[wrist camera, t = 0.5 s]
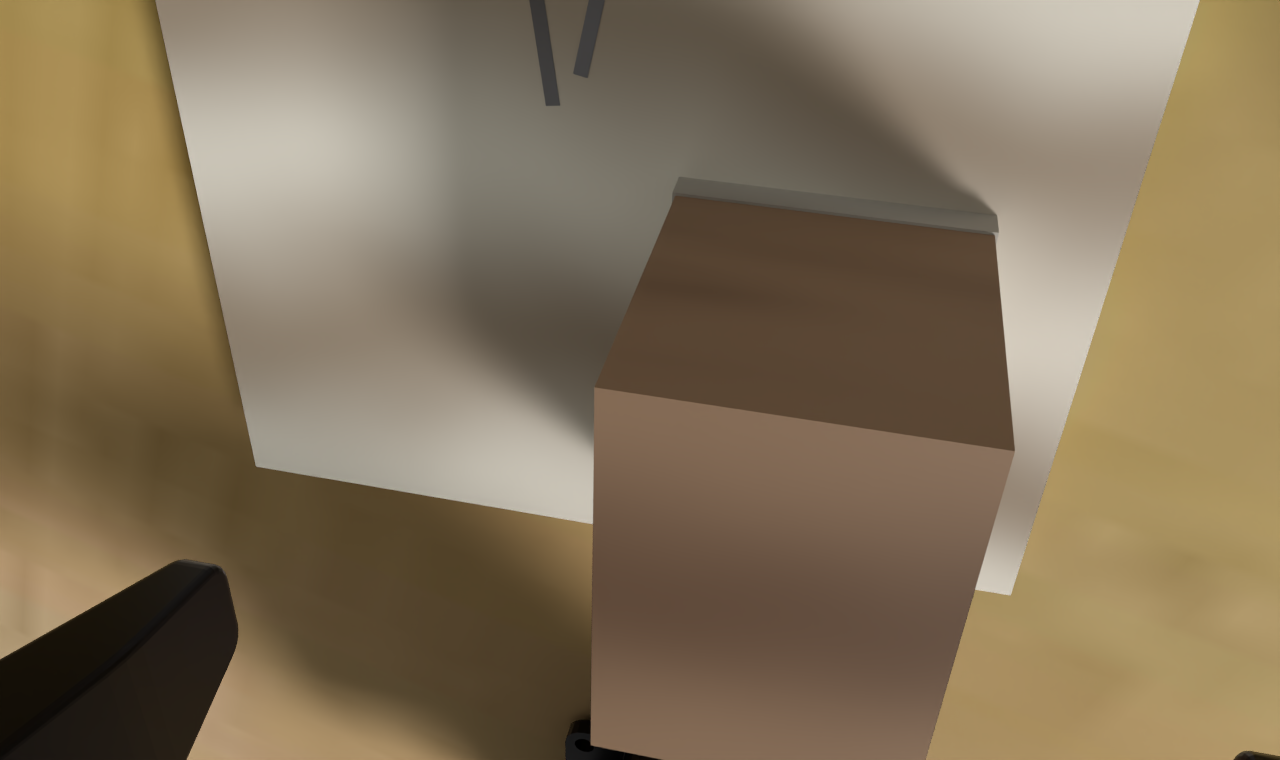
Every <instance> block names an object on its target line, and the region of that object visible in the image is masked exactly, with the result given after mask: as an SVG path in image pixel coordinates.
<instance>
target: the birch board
mask: <svg viewBox="0 0 1280 760" xmlns="http://www.w3.org/2000/svg"><path fill="white" fill-rule="evenodd" d="M155 1H156V6H157V10H158V15H159V20H160V24H161V29H162V34H163V38H164V43H165V47H166V52H167V57H168V61H169V66H170V71H171V75H172V80H173V84H174V89H175V94H176V98H177V103H178V108H179V112H180V117H181V122H182V126H183V131H184V135H185V140H186V145H187V149H188V154H189V159H190V163H191V168H192V173H193V177H194V182H195V186H196V191H197V196H198V200H199V205H200V210H201V214H202V219H203V223H204V228H205V233H206V237H207V242H208V247H209V251H210V256H211V261H212V265H213V270H214V274H215V279H216V284H217V288H218V293H219V298H220V302H221V307H222V312H223V316H224V321H225V325H226V330H227V335H228V339H229V344H230V349H231V353H232V358H233V362H234V367H235V372H236V376H237V381H238V386H239V390H240V395H241V400H242V404H243V409H244V413H245V418H246V423H247V427H248V432H249V437H250V441H251V446H252V451H253V455H254V460H255V464H256V467H262V468H267V469H273V470H279V471H285V472H291V473H297V474H303V475H308V476H314V477H320V478H326V479H332V480H338V481H343V482H349V483H355V484H361V485H367V486H373V487H379V488H384V489H390V490H396V491H402V492H408V493H414V494H420V495H425V496H431V497H437V498H443V499H449V500H455V501H461V502H466V503H472V504H478V505H484V506H490V507H496V508H502V509H507V510H513V511H519V512H525V513H531V514H537V515H542V516H548V517H554V518H560V519H566V520H572V521H578V522H583V523H589V524H593V472H594V387H595V385H596V382H597V380H598V378H599V375H600V373H601V371H602V368H603V366H604V363H605V361H606V359H607V356H608V354H609V352H610V349H611V347H612V345H613V342H614V340H615V337H616V335H617V333H618V330H619V328H620V326H621V323H622V321H623V318H624V316H625V314H626V311H627V309H628V307H629V304H630V302H631V299H632V297H633V295H634V292H635V290H636V288H637V285H638V283H639V281H640V278H641V276H642V273H643V271H644V269H645V266H646V264H647V262H648V259H649V257H650V254H651V252H652V250H653V247H654V245H655V243H656V240H657V238H658V235H659V233H660V231H661V228H662V226H663V224H664V221H665V219H666V217H667V214H668V212H669V209H670V207H671V205H672V192H673V190H674V188H675V185H676V183H677V181H678V178H679V177H686V178H694V179H703V180H711V181H719V182H727V183H735V184H744V185H752V186H760V187H768V188H777V189H785V190H793V191H801V192H809V193H818V194H826V195H834V196H842V197H851V198H859V199H867V200H875V201H883V202H892V203H900V204H908V205H916V206H925V207H933V208H941V209H949V210H957V211H966V212H974V213H982V214H990V215H997V218H998V228H999V235H998V239H997V243H996V252H997V262H998V273H999V284H1000V295H1001V305H1002V316H1003V327H1004V338H1005V348H1006V359H1007V370H1008V381H1009V391H1010V402H1011V413H1012V424H1013V434H1014V445H1015V453H1014V457H1013V460H1012V464H1011V467H1010V471H1009V474H1008V478H1007V481H1006V484H1005V488H1004V491H1003V495H1002V498H1001V502H1000V505H999V509H998V512H997V515H996V519H995V522H994V526H993V529H992V533H991V536H990V539H989V543H988V546H987V550H986V553H985V557H984V560H983V564H982V567H981V570H980V574H979V577H978V581H977V584H976V588H975V589H976V590H981V591H987V592H993V593H999V594H1005V595H1011V592H1012V589H1013V586H1014V583H1015V580H1016V577H1017V573H1018V570H1019V567H1020V564H1021V561H1022V558H1023V555H1024V551H1025V548H1026V545H1027V542H1028V539H1029V536H1030V533H1031V529H1032V526H1033V523H1034V520H1035V517H1036V514H1037V510H1038V507H1039V504H1040V501H1041V498H1042V495H1043V492H1044V488H1045V485H1046V482H1047V479H1048V476H1049V473H1050V470H1051V466H1052V463H1053V460H1054V457H1055V454H1056V451H1057V448H1058V444H1059V441H1060V438H1061V435H1062V432H1063V429H1064V426H1065V422H1066V419H1067V416H1068V413H1069V410H1070V407H1071V403H1072V400H1073V397H1074V394H1075V391H1076V388H1077V385H1078V381H1079V378H1080V375H1081V372H1082V369H1083V366H1084V363H1085V359H1086V356H1087V353H1088V350H1089V347H1090V344H1091V341H1092V337H1093V334H1094V331H1095V328H1096V325H1097V322H1098V319H1099V315H1100V312H1101V309H1102V306H1103V303H1104V300H1105V297H1106V293H1107V290H1108V287H1109V284H1110V281H1111V278H1112V274H1113V271H1114V268H1115V265H1116V262H1117V259H1118V256H1119V252H1120V249H1121V246H1122V243H1123V240H1124V237H1125V234H1126V230H1127V227H1128V224H1129V221H1130V218H1131V215H1132V212H1133V208H1134V205H1135V202H1136V199H1137V196H1138V193H1139V190H1140V186H1141V183H1142V180H1143V177H1144V174H1145V171H1146V167H1147V164H1148V161H1149V158H1150V155H1151V152H1152V149H1153V145H1154V142H1155V139H1156V136H1157V133H1158V130H1159V127H1160V123H1161V120H1162V117H1163V114H1164V111H1165V108H1166V105H1167V101H1168V98H1169V95H1170V92H1171V89H1172V86H1173V83H1174V79H1175V76H1176V73H1177V70H1178V67H1179V64H1180V61H1181V57H1182V54H1183V51H1184V48H1185V45H1186V42H1187V38H1188V35H1189V32H1190V29H1191V26H1192V23H1193V20H1194V16H1195V13H1196V10H1197V7H1198V4H1199V1H1200V0H155Z"/></svg>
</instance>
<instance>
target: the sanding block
mask: <svg viewBox="0 0 1280 760" xmlns="http://www.w3.org/2000/svg"><path fill="white" fill-rule="evenodd" d="M998 235H999V228H998V218H997V215H990V214H982V213H974V212H966V211H957V210H949V209H941V208H933V207H925V206H916V205H908V204H900V203H892V202H883V201H875V200H867V199H859V198H851V197H842V196H834V195H826V194H818V193H809V192H801V191H793V190H785V189H777V188H768V187H760V186H752V185H744V184H735V183H727V182H719V181H711V180H703V179H694V178H686V177H679V178H678V181H677V183H676V185H675V188H674V190H673V192H672V205H671V207H670V209H669V212H668V214H667V217H666V219H665V221H664V224H663V226H662V228H661V231H660V233H659V235H658V238H657V240H656V243H655V245H654V247H653V250H652V252H651V254H650V257H649V259H648V262H647V264H646V266H645V269H644V271H643V273H642V276H641V278H640V281H639V283H638V285H637V288H636V290H635V292H634V295H633V297H632V299H631V302H630V304H629V307H628V309H627V311H626V314H625V316H624V318H623V321H622V323H621V326H620V328H619V330H618V333H617V335H616V337H615V340H614V342H613V345H612V347H611V349H610V352H609V354H608V356H607V359H606V361H605V363H604V366H603V368H602V371H601V373H600V375H599V378H598V380H597V382H596V385H595V387H594V472H593V566H592V660H591V745H592V746H597V747H602V748H607V749H612V750H617V751H622V752H627V753H632V754H637V755H642V756H647V757H652V758H656V759H661V760H926V756H927V753H928V750H929V746H930V743H931V739H932V736H933V732H934V729H935V725H936V722H937V719H938V715H939V712H940V708H941V705H942V701H943V698H944V694H945V691H946V688H947V684H948V681H949V677H950V674H951V670H952V667H953V663H954V660H955V657H956V653H957V650H958V646H959V643H960V639H961V636H962V632H963V629H964V626H965V622H966V619H967V615H968V612H969V608H970V605H971V601H972V598H973V595H974V591H975V588H976V584H977V581H978V577H979V574H980V570H981V567H982V564H983V560H984V557H985V553H986V550H987V546H988V543H989V539H990V536H991V533H992V529H993V526H994V522H995V519H996V515H997V512H998V509H999V505H1000V502H1001V498H1002V495H1003V491H1004V488H1005V484H1006V481H1007V478H1008V474H1009V471H1010V467H1011V464H1012V460H1013V457H1014V453H1015V445H1014V434H1013V424H1012V413H1011V402H1010V391H1009V381H1008V370H1007V359H1006V348H1005V338H1004V327H1003V316H1002V305H1001V295H1000V284H999V273H998V262H997V252H996V243H997V239H998Z"/></svg>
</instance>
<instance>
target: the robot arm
mask: <svg viewBox="0 0 1280 760" xmlns="http://www.w3.org/2000/svg"><path fill="white" fill-rule="evenodd" d="M237 640H238V623H237V619H236V614H235V610H234V606H233V601H232V597H231V592H230V588H229V584H228V579H227V576H226V573H225V572H224V570H223V569H222V568H221V567H220V566H217V565H215V564H209V563H204V562H198V561H193V560H186V559H184V560H178V561H175V562H172V563H170V564H168V565H167V566H165V567H163V568H161V569H159V570H158V571H156V572H154V573H152V574H151V575H149V576H147V577H145V578H144V579H142V580H140V581H138V582H136V583H135V584H133V585H131V586H129V587H128V588H126V589H124V590H122V591H121V592H119V593H117V594H115V595H113V596H112V597H110V598H108V599H106V600H105V601H103V602H101V603H99V604H98V605H96V606H94V607H92V608H90V609H89V610H87V611H85V612H83V613H82V614H80V615H78V616H76V617H75V618H73V619H71V620H69V621H67V622H66V623H64V624H62V625H60V626H59V627H57V628H55V629H53V630H51V631H50V632H48V633H46V634H44V635H43V636H41V637H39V638H37V639H36V640H34V641H32V642H30V643H28V644H27V645H25V646H23V647H21V648H20V649H18V650H16V651H14V652H13V653H11V654H9V655H7V656H5V657H4V658H2V659H0V760H187V757H188V755H189V753H190V751H191V749H192V746H193V744H194V742H195V740H196V737H197V735H198V733H199V731H200V728H201V726H202V724H203V722H204V719H205V717H206V715H207V713H208V710H209V708H210V706H211V704H212V701H213V699H214V697H215V695H216V692H217V690H218V688H219V686H220V683H221V681H222V679H223V677H224V674H225V672H226V670H227V668H228V665H229V663H230V661H231V659H232V656H233V654H234V651H235V648H236V645H237ZM565 748H566V760H661V759H656V758H652V757H647V756H642V755H637V754H632V753H627V752H622V751H617V750H612V749H607V748H602V747H597V746H592V745H591V721H589V720H578V721H575V722H573V723H572V724H571V726H570V729H569V732H568V735H567V738H566V741H565ZM1234 760H1280V756H1276V755H1270V754H1264V753H1259V752H1253V751H1243V752H1241V753H1239V754H1238V755H1237V756H1236V757H1235V759H1234Z"/></svg>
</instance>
